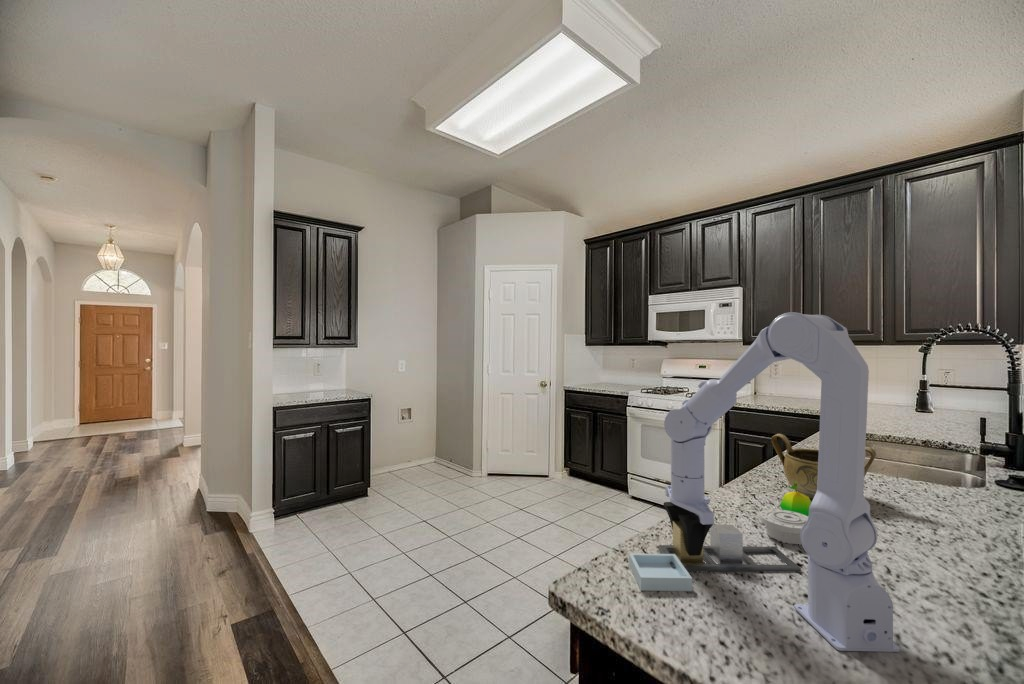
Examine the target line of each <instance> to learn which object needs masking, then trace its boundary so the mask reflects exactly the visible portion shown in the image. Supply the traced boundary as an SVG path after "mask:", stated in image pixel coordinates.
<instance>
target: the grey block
mask: <svg viewBox="0 0 1024 684" xmlns="http://www.w3.org/2000/svg"><path fill="white" fill-rule="evenodd" d="M709 532H710V534H709V535H710V536H709V537H710V539H709V540H710V542H709V543H710V544H709V546H710V553H709V556H710V557H711V558H712V559H713V560H714V561H715V563H716V562H717V563H718V564H743V542H744V540H743V537H744V536H743V533H742V531H740V530H739V529H738V528H736V527H735V525H733V524H721V523H720V524H715V523H714V524H713V525H712V527H711V528H710V530H709ZM717 563H716V564H717Z"/></svg>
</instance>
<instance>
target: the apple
mask: <svg viewBox="0 0 1024 684" xmlns="http://www.w3.org/2000/svg"><path fill="white" fill-rule="evenodd" d="M793 484H794V486H788V487H787V488H788V489H790V490H795V491H790V492H789V491H788V492H787V493H785V494H784V495H783V497H782V498H781V502H780V503H779V506H780V510H787V511H792V512H796V513H800V514H803V515H806V516H808V517H809V507H810V505H811V502H812V499H811V498H809V497H808V496H806V495H804V494H801V493H799V492H798V491H797V483H796V481H795V482H794V483H793Z"/></svg>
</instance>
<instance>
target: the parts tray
mask: <svg viewBox="0 0 1024 684" xmlns="http://www.w3.org/2000/svg"><path fill="white" fill-rule="evenodd" d="M670 562H673V563H674V564H675V566H676V568H672V566H671V565H670ZM628 565H629V569H630V570H631V572H632V575H633V577H634V579H635V581H636V583H637V585H638V588H639V589H640V591H641V592H642V591H644V592H645V591H651V592H653V591H654V592H692V591H693V577H692V576H691V575H690V572H687V570H686V569H685V567H684V566H683V565H682V563H681V562H680V560H679V559H678V558H677V556H676V555H675V554H674V553H670V554H661V553H628Z"/></svg>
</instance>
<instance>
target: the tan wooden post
mask: <svg viewBox="0 0 1024 684" xmlns="http://www.w3.org/2000/svg"><path fill="white" fill-rule="evenodd" d="M672 545H673V553H672V554H675V555H676V556H677V558H678V559H679V560H680V562H681V563H693V564H704V560H703V548H702V551H701V555H697V556H689V555H688V553H687V549H686V541H685V533H684V529H683V526H682V523H681V521H673V530H672Z"/></svg>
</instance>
